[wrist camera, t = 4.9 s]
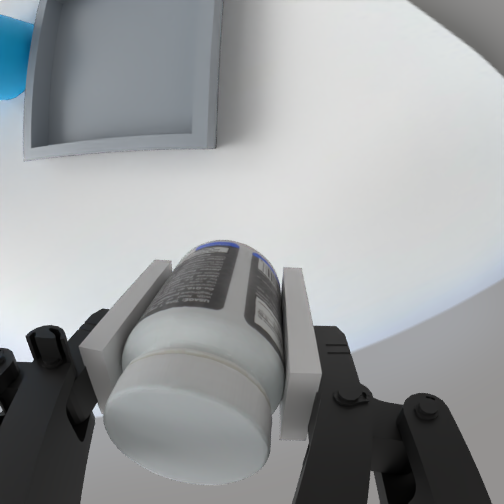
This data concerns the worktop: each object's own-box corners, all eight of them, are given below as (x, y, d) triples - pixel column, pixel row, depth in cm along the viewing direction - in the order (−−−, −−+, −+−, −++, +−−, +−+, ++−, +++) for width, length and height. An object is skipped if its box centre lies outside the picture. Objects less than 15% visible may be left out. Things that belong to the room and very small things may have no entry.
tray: (45, 158, 23) (23, 161, 20) (60, 0, 18) (42, -9, 15) (215, 148, 22) (207, 148, 19) (226, -37, 17) (220, -55, 14)
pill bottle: (164, 313, 15) (87, 453, 7) (191, 221, 13) (87, 336, 5) (258, 346, 15) (244, 505, 7) (298, 261, 13) (326, 418, 5)
